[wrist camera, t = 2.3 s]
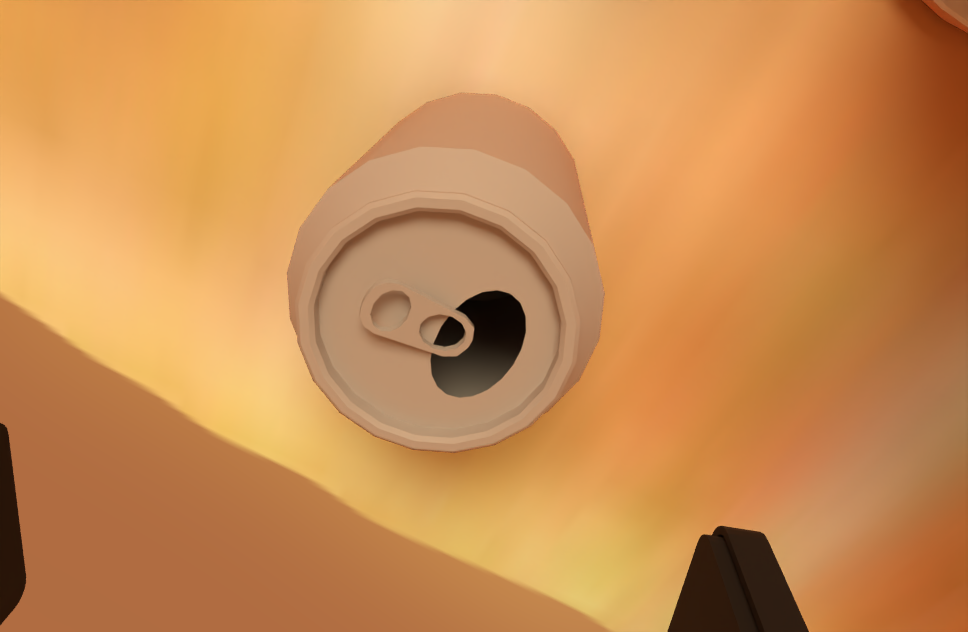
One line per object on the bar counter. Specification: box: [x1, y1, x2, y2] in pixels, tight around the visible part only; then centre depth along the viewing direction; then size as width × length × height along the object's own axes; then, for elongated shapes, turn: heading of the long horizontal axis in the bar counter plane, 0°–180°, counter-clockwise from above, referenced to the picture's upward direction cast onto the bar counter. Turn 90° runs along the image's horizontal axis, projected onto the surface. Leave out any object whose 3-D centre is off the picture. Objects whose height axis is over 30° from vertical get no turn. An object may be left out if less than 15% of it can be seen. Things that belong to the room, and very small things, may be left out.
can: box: [287, 93, 605, 453], centre depth 21 cm, size 8×8×12 cm
